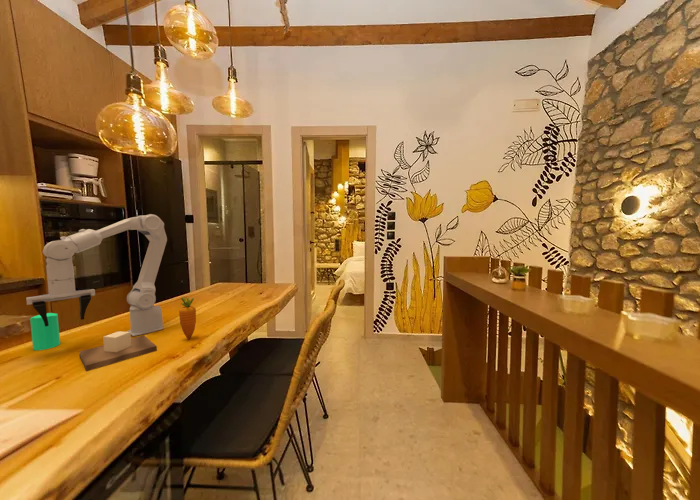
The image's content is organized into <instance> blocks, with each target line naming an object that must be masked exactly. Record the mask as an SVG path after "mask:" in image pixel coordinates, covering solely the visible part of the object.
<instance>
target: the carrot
mask: <svg viewBox="0 0 700 500" xmlns="http://www.w3.org/2000/svg"><path fill="white" fill-rule="evenodd" d="M180 300H181V301H182V302H181V303H180V305H182V306H183V307H181V308H180V309H179V311H178V315H179V322H180V323H179V324H180V327H181V329H182V332H183V334H184V336H185V337H186V339H188V340H190V339H192V336H193V335H194V332H195V328H196V324H197V323H196V322H197V310H196V307H195V306H193V305H192V303H193V301H194V300H195V298H194V297H191V298H189V297H186V298H185V296H181V297H180Z"/></svg>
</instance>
